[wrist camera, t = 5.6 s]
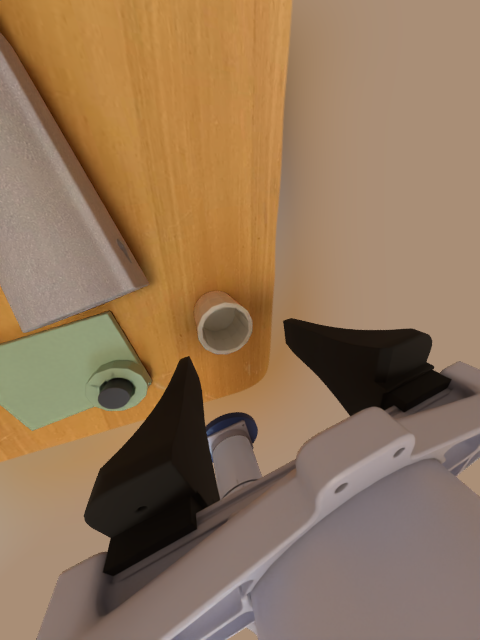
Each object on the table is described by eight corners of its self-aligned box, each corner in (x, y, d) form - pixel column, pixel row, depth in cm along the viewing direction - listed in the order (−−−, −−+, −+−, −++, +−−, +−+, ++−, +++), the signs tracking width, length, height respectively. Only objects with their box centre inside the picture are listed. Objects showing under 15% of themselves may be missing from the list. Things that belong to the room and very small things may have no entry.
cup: (241, 323, 24) (257, 342, 19) (201, 338, 23) (207, 362, 18) (231, 284, 21) (246, 295, 16) (186, 299, 20) (188, 314, 15)
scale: (157, 383, 23) (155, 397, 21) (42, 428, 20) (26, 450, 18) (113, 309, 18) (104, 317, 16) (-42, 356, 16) (-78, 373, 14)
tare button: (137, 391, 20) (134, 402, 19) (112, 402, 20) (107, 413, 18) (125, 374, 19) (121, 383, 18) (97, 384, 18) (91, 395, 17)
